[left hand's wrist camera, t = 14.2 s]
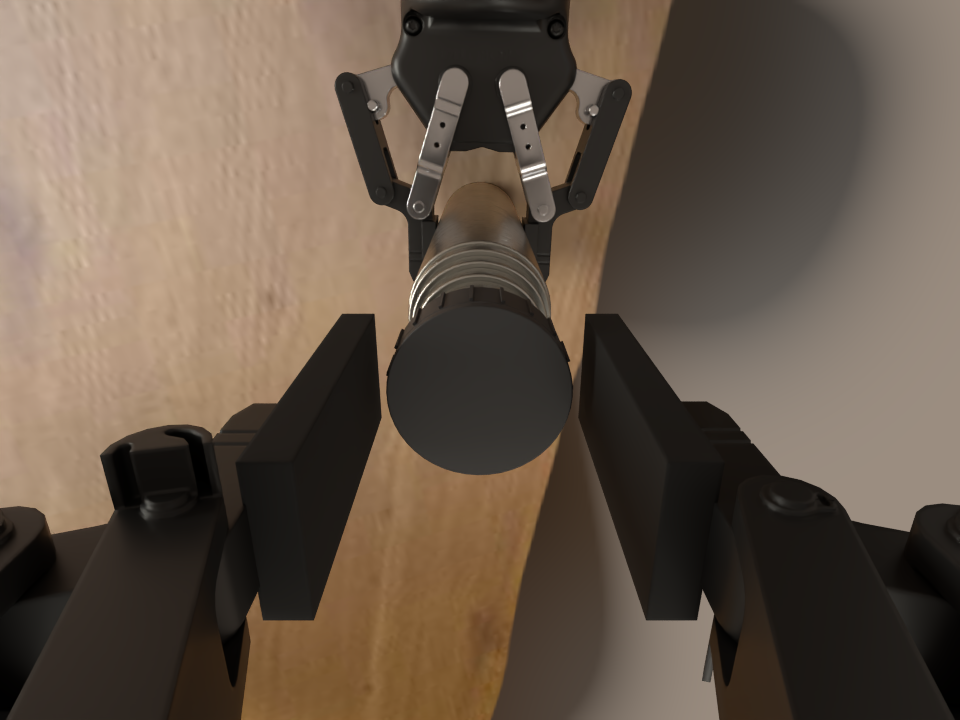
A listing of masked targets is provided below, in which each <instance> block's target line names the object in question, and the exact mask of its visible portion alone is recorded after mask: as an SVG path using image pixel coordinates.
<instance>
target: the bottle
mask: <svg viewBox="0 0 960 720" xmlns="http://www.w3.org/2000/svg"><path fill="white" fill-rule="evenodd" d="M470 285H474V287H487V288H495V289H500V287H503V288H504V291H507V292H510V293H513V294H516V295H518V296H520V297H521V298H523V299H525V300H527V298H529V299H530V300H531V303H532V304H533V305H534V306H535V307H536V308H537V309H539V310H540V311H541V312H542V313H543V314H544V315H545V317H546V318H548V317H550V318H551V303H550V295H549V292H548V288H547V285H546V283H545V280H544V278H543V276H542V273H541V271H540V268H539V266H538V263H537V261H536V258H535V256H534V253H533V251H532V249H531V246H530V244H529V241H528V239H527V236H526V234H525V231H524V229H523V227H522V224H521V222H520V219H519V217H518V214H517V212H516V209H515V207H514V205H513V202H512V201H511V199H510V197H509V196H508V195H507V194H506V193H505V192H504V191H503V190H502V189H500V188H499V187H497V186H495V185H492V184H489V183H484V182H476V183H471V184H467V185H465V186H463V187H461V188H460V189H458V190H457V191H456V192H455V193H454V194H453V195H452V196H451V197H450V199H449V200H448V202H447V204H446V207H445V209H444V211H443V214H442V216H441V219H440V221H439V223H438V226H437V228H436V231H435V233H434V236H433V238H432V240H431V243H430V245H429V248H428V250H427V252H426V255H425V257H424V260H423V262H422V264H421V267H420V269H419V272H418V274H417V277H416V279H415V281H414V284H413V287H412V290H411V293H410V299H409V317H408V318H409V322H410V321H411V319H412V318H413V317H414V316H415V314H416V311H417V309H418V308H419V307H420V308H421V309H422V308H423V307H424V306H425V305H427V304H428V303H429V302H431V301H433V300H434V299H436V298H437V297H440V296H441V293H442V292H445V294H446V293H449V292H452V291H455V290H459V289H464V288H470Z"/></svg>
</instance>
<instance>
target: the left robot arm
mask: <svg viewBox="0 0 960 720" xmlns="http://www.w3.org/2000/svg"><path fill="white" fill-rule="evenodd" d="M381 418H382V417H381V402H380V387H379V373H378V358H377V344H376V329H375V315H374V314H342V315H341V316H340V318H339V319H338V320H337V322H336V323H335V324H334V326H333V327H332V329H331V330H330V331H329V333H328V334H327V336H326V337H325V338H324V340H323V341H322V342H321V344H320V345H319V347H318V348H317V349H316V351H315V352H314V354H313V355H312V356H311V358H310V359H309V360H308V362H307V363H306V365H305V366H304V367H303V369H302V370H301V372H300V373H299V374H298V376H297V377H296V378H295V380H294V381H293V383H292V384H291V385H290V387H289V388H288V390H287V391H286V392H285V394H284V395H283V396H282V398H281V399H280V401H279V402H278V403H277V404H252V405H250V406H249V407H247V408H245V409H243V410H242V411H240V412H238V413H237V414H235V415H233V416H232V417H231V418H230V419H229V420H228V422H227V423H226V424H225V425H224V426H223V428H222V429H221V430H220V433H217V435H216V436H215V437H214V438H213V439H212V434H211V433H210V432H208V431H207V430H206V429H204V428H203V427H197V426H192V425H167V426H161V427H156V428H150V429H146V430H143V431H140V432H137V433H134V434H131V435H128V436H126V437H124V438H123V439H121V440H119V441H117V442H115V443H113V444H111V445H110V446H109V447H108V448H107V449H106V450H105V451H104V452H103V453H102V454H101V455H100V458H101V461H102V465H103V469H104V472H105V476H106V480H107V483H108V487H109V491H110V494H111V498H112V502H113V505H114V509H115V511H114V513H113V515H112V517H111V518H110V520H109V522H108V524H104V525H100V526H95V527H90V528H84V529H79V530H74V531H68V532H63V533H58V534H52V535H51V533H50V530H49V527H48V524H47V521H46V518H45V515H44V514H43V513H41V512H40V511H38V510H37V509H36V508H28V507H21V506H17V507H8V508H0V720H241V713H242V705H243V697H244V690H245V682H246V674H247V666H248V658H249V650H250V635H249V629H248V623H247V618H246V615H247V613H248V611H249V609H250V607H251V605H252V603H253V601H254V598H255V596H256V594H257V592H258V595H259V600H260V606H261V612H262V617H263V620H314V618H315V615H316V612H317V609H318V606H319V603H320V600H321V597H322V594H323V591H324V588H325V585H326V582H327V579H328V576H329V573H330V570H331V567H332V564H333V561H334V558H335V555H336V552H337V549H338V546H339V543H340V540H341V537H342V534H343V531H344V528H345V526H346V523H347V520H348V517H349V514H350V511H351V508H352V505H353V502H354V499H355V496H356V493H357V490H358V487H359V484H360V481H361V478H362V475H363V472H364V469H365V466H366V463H367V460H368V457H369V454H370V451H371V448H372V445H373V442H374V439H375V436H376V433H377V430H378V427H379V424H380V421H381ZM579 421H580V424H581V427H582V430H583V433H584V436H585V439H586V442H587V445H588V448H589V451H590V454H591V457H592V460H593V463H594V466H595V469H596V472H597V474H598V477H599V481H600V484H601V487H602V490H603V493H604V496H605V498H606V502H607V505H608V507H609V511H610V513H611V516H612V520H613V522H614V525H615V528H616V531H617V534H618V537H619V540H620V543H621V546H622V549H623V552H624V555H625V558H626V561H627V564H628V567H629V570H630V573H631V576H632V579H633V582H634V585H635V588H636V591H637V594H638V597H639V600H640V603H641V606H642V609H643V612H644V615H645V618H646V620H697V617H698V612H699V606H700V600H701V595H702V589H703V591H704V593H705V595H706V597H707V600H708V602H709V604H710V606H711V608H712V610H713V612H714V618H713V624H712V629H711V634H710V639H709V645H708V650H707V655H706V660H705V666H704V672H703V678H702V681H706V682H710V681H711V676H712V671H713V672H714V680H715V688H716V696H717V704H718V712H719V720H960V505H951V504H934V505H926V506H924V507H923V508H921V509H920V510H919V511H917V512H916V515H915V518H914V521H913V524H912V527H911V530H910V532H906V531H901V530H896V529H890V528H885V527H879V526H874V525H869V524H864V523H859V522H855V521H851V519H850V517H849V515H848V514H847V512H846V510H845V508H844V507H843V506H842V505H841V504H840V503H839V501H838V500H837V499H836V498H835V497H833V496H832V495H830V494H829V493H827V492H826V491H824V490H822V489H821V488H819V487H817V486H814V485H812V484H809V483H807V482H804V481H802V480H798V479H794V478H789V477H785V476H781V475H780V474H779V473H778V472H777V471H776V470H775V468H774V467H773V466H772V465H771V464H770V463H769V461H768V460H767V459H766V458H765V457H764V456H763V454H762V453H761V452H760V451H759V450H758V448H757V447H756V446H755V445H754V444H751V440H750V439H749V438H748V437H747V436H746V434H745V433H744V432H743V431H740V427H739V426H738V425H737V424H736V423H735V421H734V420H733V419H732V418H731V417H730V416H729V414H727V413H726V412H724V411H722V410H720V409H719V408H717V407H715V406H713V405H712V404H710V403H708V402H681V401H680V399H679V398H678V397H677V395H676V394H675V392H674V391H673V390H672V388H671V387H670V385H669V384H668V383H667V381H666V380H665V379H664V377H663V376H662V374H661V373H660V372H659V370H658V369H657V367H656V366H655V365H654V363H653V362H652V360H651V359H650V358H649V356H648V355H647V354H646V352H645V351H644V349H643V348H642V347H641V345H640V344H639V343H638V341H637V340H636V338H635V337H634V336H633V334H632V333H631V331H630V330H629V329H628V327H627V326H626V324H625V323H624V322H623V320H622V319H621V318H620V316H619V315H618V314H586V315H585V329H584V344H583V358H582V373H581V388H580V402H579Z"/></svg>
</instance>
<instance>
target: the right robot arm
mask: <svg viewBox="0 0 960 720" xmlns="http://www.w3.org/2000/svg"><path fill="white" fill-rule="evenodd" d="M569 6H570V0H401V36H400V40H399V44H398V46H397V49H396V51H395V53H394V55H393V57H392V61H391V65H388V66H385V67H382V68H378V69H375V70H372V71H368V72H365V73H362V74H358V75H355V74H352V73H349V72H345V73H342V74H340V75H339V76H338V77H337V79H336V81H335V91H336V94H337V97H338V100H339V103H340V106H341V109H342V112H343V116H344V119H345V122H346V125H347V128H348V131H349V134H350V137H351V140H352V143H353V146H354V149H355V152H356V155H357V159H358V162H359V165H360V168H361V171H362V174H363V177H364V180H365V183H366V186H367V189H368V192H369V195H370V198H371V199H372V201H373V202H374V203H376V204H378V205H386V206H388V207H391V208H393V209H396V210H398V211H400V212H402V213H403V214H404V215H405V217H406V219H407V221H408V237H409V272H410V274H411V277H412V279H413V281H415V279H416V277H417V274H418V272H419V269H420V267H421V264H422V262H423V260H424V257H425V255H426V252H427V250H428V248H429V245H430V243H431V240H432V238H433V236H434V233H435V231H436V228H437V226H438V215H434V205H435V201H436V198H437V195H438V191H439V188H440V185H441V182H442V178H443V175H444V172H445V169H446V166H447V163H448V160H449V156H450V153H451V151H468V150H472V149H476V148H480V147H485V148H488V149H491V150H494V151H498V152H513V154H514V158H515V162H516V166H517V169H518V172H519V176H520V180H521V183H522V187H523V191H524V195H525V199H526V203H527V211H526V217H522V227H523V229H524V231H525V234H526V236H527V239H528V241H529V244H530V246H531V249H532V251H533V253H534V256H535V258H536V261H537V263H538V266H539V268H540V271H541V273H542V276H543V278H544V280H545V282H546V280H547V278H548V276H549V267H550V252H551V236H552V226H553V223H554V221H555V220H556V218H557V217H559V216H560V215H562V214H564V213H567V212H570V211H573V210H576V209H577V210H583V209H586V208H588V207H589V206H590V205H591V203H592V201H593V199H594V196H595V193H596V190H597V188H598V185H599V182H600V180H601V177H602V174H603V172H604V169H605V166H606V164H607V161H608V158H609V155H610V153H611V150H612V147H613V145H614V142H615V139H616V137H617V134H618V131H619V128H620V126H621V123H622V120H623V118H624V115H625V112H626V110H627V107H628V104H629V101H630V99H631V95H632V90H631V86H630V85H629V83H628V82H627V81H625V80H622V79H617V80H607V79H604V78H601V77H599V76H596V75H593V74H590V73H587V72H584V71H582V70H579V69H577V66H576V61H575V58H574V56H573V54H572V51H571V48H570V45H569V40H568V22H569ZM397 87H398V88H399V90H400V91H401V93H402V94H403V96H404V97H405V98H406V100H407V101H408V103H409V104H410V106H411V107H412V109H413V110H414V112H415V113H416V115H417V116H418V118H419V119H420V121H421V122H422V124H423V125H424V127H425V128H426V129H427V133H426V136H425V139H424V143H423V146H422V150H421V153H420V157H419V160H418V165H417V170H416V174H415V177H414V181H413V184H412V185H410V184H408V183H405V182H403V181H400V180H398V177H397V174H396V170H395V167H394V164H393V161H392V157H391V154H390V151H389V147H388V144H387V141H386V138H385V134H384V131H383V128H382V125H381V121H380V120H381V119H384V118H385V117H387V115H388V114H389V112H390V95H391V93H392V91H393V90H394V89H396V88H397ZM569 91H570V92H571V93H572V94H573V95H574V96H575V98H576V102H577V106H576V117H577V119H578V120H579V121H580V122H581V123H583V124H585V126H584V129H583V132H582V135H581V138H580V140H579V143H578V146H577V149H576V152H575V155H574V158H573V160H572V163H571V166H570V169H569V172H568V175H567V178H566V180H565V183H564V184H561V185H558V186H555V187H552V188H551V186H550V182H549V178H548V174H547V167H546V162H545V158H544V154H543V150H542V146H541V142H540V137H539V133H538V132H539V131H540V130H541V128H542V127H543V126H544V124H545V123H546V122H547V120H548V119H549V117H550V116H551V115H552V113H553V112H554V111H555V109H556V108H557V107H558V105H559V104H560V103H561V101H562V100H563V99H564V97H565V96H566V94H567V93H568V92H569Z"/></svg>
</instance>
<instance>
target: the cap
mask: <svg viewBox="0 0 960 720" xmlns="http://www.w3.org/2000/svg"><path fill="white" fill-rule="evenodd" d="M394 348H395V349H396V352H395V354H394V355H393V357H392V360H391V362H390V365H389V368H388V370H387V374H386V376H388V378H387V389H386V394H387V403H388V408H389V411H390V415H391V418H392V420H393V422H394V425H395V427H396V428H397V430H398V432H399V433H400V435H401V436H402V438H403V439H404V440H405V441H406V443H407V444H408V445H409V446H410V447H411V448H412V449H413V450H414V451H415V452H417V453H418V454H419V455H420V456H422V457H423V458H424V459H426V460H428V461H429V462H431V463H433V464H435V465H437V466H439V467H441V468H444V469H447V470H450V471H453V472H457V473H463V474H471V475H490V474H496V473H502V472H506V471H509V470H513V469H515V468H518V467H520V466H522V465H524V464H526V463H528V462H530V461H532V460H533V459H535V458H536V457H537V456H539V455H540V454H542V453H543V452H544V451H545V450H546V449H547V448H548V447H549V446H550V445H551V444H552V443H553V442H554V440H555V439H556V438H557V437H558V435H559V433H560V432H561V430H562V429H563V427H564V425H565V423H566V420H567V418H568V415H569V412H570V409H571V403H572V397H573V384H572V376H571V372H570V368H569V365H568V362H569V361H570V359H569V357H568V354H567V351H566V349H565V346H564V343H563V341H561V342H560V340H559V338H558V336H557V333H556V331H555V328H554V326H553V323H552V320H551V318H550V317H548V318H546V317H545V315H544V314H543V313H542V312H541V311H540V310H539V309H537V308H536V307H535V306H534V305H533V304H532V303H531V300H530V299H529V298H527V300H525V299H523V298H521V297H520V296H518V295H516V294H513V293H510V292H507V291H504V288H503V287H500V289H495V288H487V287H474V285H470V288H464V289H459V290H455V291H452V292H449V293H446V294H445V292H442V293H441V296H440V297H437V298H436V299H434V300H433V301H431V302H429V303H428V304H427V305H425V306H424V307H423V308H422V309H421V308H420V307H419V308H418V309H417V311H416V314H415V316H414V317H413V318H412V319H411V321H410V322H409V323H408V325H407V326H406V328H405V330H403V329H402V330H401V332H400V334H399V337H398V339H397V342H396V345H395V347H394Z"/></svg>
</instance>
